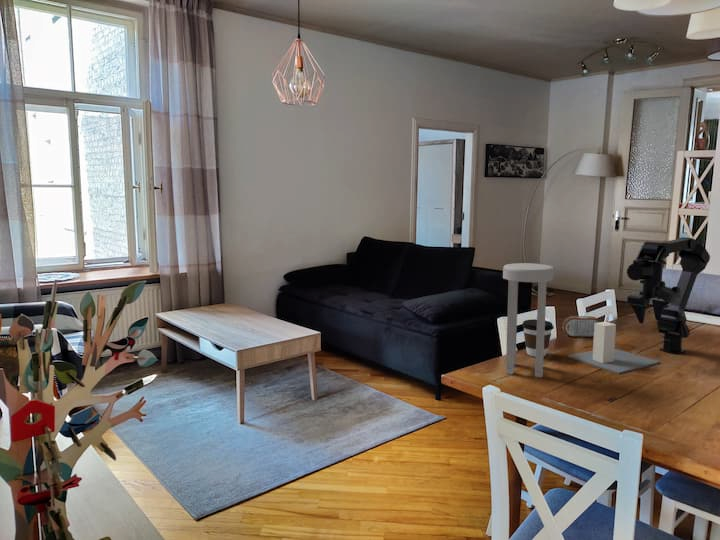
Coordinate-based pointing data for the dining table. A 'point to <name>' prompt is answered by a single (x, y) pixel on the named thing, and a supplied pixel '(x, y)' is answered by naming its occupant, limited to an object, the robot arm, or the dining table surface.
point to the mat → (616, 361)
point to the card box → (604, 342)
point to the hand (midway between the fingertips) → (649, 321)
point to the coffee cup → (531, 332)
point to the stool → (515, 275)
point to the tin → (579, 326)
